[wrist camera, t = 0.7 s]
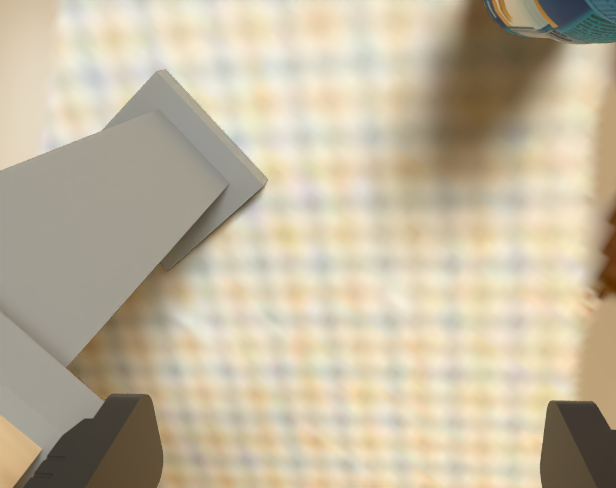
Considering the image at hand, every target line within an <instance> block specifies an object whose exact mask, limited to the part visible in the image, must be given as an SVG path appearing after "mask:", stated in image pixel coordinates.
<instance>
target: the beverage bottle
mask: <svg viewBox="0 0 616 488" xmlns="http://www.w3.org/2000/svg"><path fill="white" fill-rule="evenodd" d="M483 2H484V5H485V7H486V10H487V11H488V13H489V15H490V16H491V18H492V19H493V20H494V21H495V23H496V24H497V25H499V26H500V27H501V28H502V29H504V30H505V31H507V32H509V33H511V34H513V35H516V36H520V37H526V38H550V39H553V40H556V41H559V42H563V43H568V44H592V43H612V42H616V0H483Z"/></svg>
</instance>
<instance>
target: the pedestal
mask: <svg viewBox="0 0 616 488" xmlns="http://www.w3.org/2000/svg"><path fill="white" fill-rule="evenodd" d="M267 180H268V179H267V178H266V177H265V176H264V174H263V173H262V172H261V171H260V170H259V169H258V168H257V167H256V166H255V165H254V164H253V163H252V162H251V160H250V159H249V158H248V157H247V156H246V155H245V154H244V153H243V152H242V151H241V150H240V149H239V148H238V146H237V145H236V144H235V143H234V142H233V141H232V140H231V139H230V138H229V137H228V136H227V135H226V134H225V133H224V131H223V130H222V129H221V128H220V127H219V126H218V125H217V124H216V123H215V122H214V121H213V120H212V119H211V117H210V116H209V115H208V114H207V113H206V112H205V111H204V110H203V109H202V108H201V107H200V106H199V105H198V103H197V102H196V101H195V100H194V99H193V98H192V97H191V96H190V95H189V94H188V93H187V92H186V91H185V89H184V88H183V87H182V86H181V85H180V84H179V83H178V82H177V81H176V80H175V79H174V78H173V77H172V76H171V74H170V73H169V72H168V71H167V70H166V69H164V70H160V71H156V72H155V73H154V75H153V76H152V77H151V78H150V79H149V80H148V81H147V82H146V83H145V84H144V85H143V86H142V88H141V89H140V90H139V91H138V92H137V93H136V94H135V95H134V96H133V97H132V98H131V99H130V101H129V102H128V103H127V104H126V105H125V106H124V107H123V108H122V109H121V110H120V111H119V113H118V114H117V115H116V116H115V117H114V118H113V119H112V120H111V121H110V122H109V123H108V124H107V126H106V127H105V128H104V129H103V130H102V131H100V132H98V133H95V134H93V135H90V136H88V137H85V138H83V139H80V140H78V141H75V142H72V143H70V144H67V145H65V146H62V147H60V148H57V149H55V150H52V151H50V152H47V153H44V154H42V155H39V156H37V157H34V158H32V159H29V160H27V161H24V162H22V163H19V164H17V165H14V166H11V167H9V168H6V169H4V170H1V171H0V415H1V416H2V417H4V418H5V419H6V420H7V421H9V422H10V423H11V424H12V425H14V426H15V427H16V428H17V429H18V430H20V431H21V432H22V433H23V434H25V435H26V436H27V437H28V438H29V439H31V440H32V441H33V442H34V443H36V444H37V445H38V446H39V447H40V448H42V450H41V452H40V453H39V454H38V456H37V457H36V458H35V459H34V461H33V462H32V463H31V465H30V466H29V467H28V469H27V470H26V471H25V472H24V474H23V475H22V476H21V478H20V479H19V480H18V482H17V483H16V484H15V485H14V487H13V488H23V487H24V486H25V484H26V483H27V482H28V480H29V479H30V478H31V477H34V472H35V471H36V470H37V468H38V467H39V466H40V464H41V463H42V462H43V460H46V459H47V455H48V454H49V452H50V451H51V450H52V448H53V447H54V446H55V444H56V443H57V442H58V440H59V439H60V438H61V436H62V435H63V434H65V433H66V432H67V431H69V430H70V429H71V428H73V427H74V426H75V425H77V424H78V423H79V422H80V421H82V420H83V419H84V418H92V419H93V418H94V416H95V415H96V413H97V412H98V410H99V409H100V408H101V406H102V405H103V403H104V401H103V400H102V399H101V398H100V397H98V396H97V395H96V394H95V393H94V392H93V391H92V390H90V389H89V388H88V387H87V386H86V385H85V384H83V383H82V382H81V381H80V380H79V379H78V378H77V377H75V376H74V375H73V374H72V373H71V372H70V371H68V370H67V369H66V367H67V366H68V365H69V364H70V363H71V362H72V361H73V360H74V358H75V357H76V356H77V355H78V354H79V353H80V352H81V351H82V349H83V348H84V347H85V346H86V345H87V344H88V343H89V342H90V340H91V339H92V338H93V337H94V336H95V335H96V334H97V332H98V331H99V330H100V329H101V328H102V327H103V326H104V325H105V323H106V322H107V321H108V320H109V319H110V318H111V317H112V316H113V314H114V313H115V312H116V311H117V310H118V309H119V308H120V307H121V305H122V304H123V303H124V302H125V301H126V300H127V299H128V298H129V296H130V295H131V294H132V293H133V292H134V291H135V290H136V288H137V287H138V286H139V285H140V284H141V283H142V282H143V281H144V279H145V278H146V277H147V276H148V275H149V274H150V273H151V272H152V270H153V269H154V268H155V267H156V266H157V265H158V264H159V263H160V264H161V265H162V266H163V267H164V268H166V269H167V270H168V271H169V270H170V269H171V268H172V267H173V266H174V265H175V264H176V263H178V262H179V261H180V260H181V259H182V258H183V257H184V256H185V255H187V254H188V253H189V252H190V251H191V250H192V249H193V248H194V247H196V246H197V245H198V244H199V243H200V242H201V241H202V240H203V239H204V238H206V237H207V236H208V235H209V234H210V233H211V232H212V231H213V230H215V229H216V228H217V227H218V226H219V225H220V224H221V223H222V222H224V221H225V220H226V219H227V218H228V217H229V216H230V215H231V214H233V213H234V212H235V211H236V210H237V209H238V208H239V207H240V206H242V205H243V204H244V203H245V202H246V201H247V200H248V199H249V198H251V197H252V196H253V195H254V194H255V193H256V192H257V191H258V190H260V189H261V188H262V187H263V186H264V185H265V183H266V182H267Z"/></svg>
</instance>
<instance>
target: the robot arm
mask: <svg viewBox="0 0 616 488" xmlns="http://www.w3.org/2000/svg"><path fill="white" fill-rule="evenodd" d="M162 467H163V451H162V445H161V441H160V436H159V431H158V426H157V421H156V416H155V412H154V407H153V402H152V399H151V398H150V396H149V395H147V394H112V395H110V396H109V397H108V398H107V399H106V401H105V402H104V403H103V405H102V406H101V408H100V409H99V410H98V412H97V413H96V415H95V416H94V418H93V419H92V418H84V419H83V420H82V421H80V422H79V423H78V424H77V425H75V426H74V427H73V428H71V429H70V430H69V431H67V432H66V433H65V434H63V435H62V436H61V438H60V439H59V440H58V442H57V443H56V444H55V446H54V447H53V448H52V450H51V451H50V452H49V454H48V455H47V459H46V460H43V462H42V463H41V464H40V466H39V467H38V468H37V470H36V471H35V472H34V477H31V478H30V479H29V480H28V482H27V483H26V484H25V486H24V487H23V488H157V486H158V483H159V480H160V477H161V473H162ZM540 474H541V483H542V488H616V430H611V429H610V427H609V426H608V424H607V422H606V420H605V418H604V417H603V415H602V414H601V412H600V410H599V408H598V407H597V405H596V404H595V403H594V402H592V401H550V402H549V404H548V407H547V412H546V420H545V428H544V436H543V444H542V452H541V461H540Z"/></svg>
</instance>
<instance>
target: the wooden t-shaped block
mask: <svg viewBox="0 0 616 488" xmlns="http://www.w3.org/2000/svg"><path fill="white" fill-rule="evenodd" d="M41 450H42V448H40V447H39V446H38V445H37V444H36V443H34V442H33V441H32V440H31V439H29V438H28V437H27V436H26V435H25V434H23V433H22V432H21V431H20V430H18V429H17V428H16V427H15V426H14V425H12V424H11V423H10V422H9V421H7V420H6V419H5V418H4V417H2V416H1V415H0V488H13V487H14V485H15V484H16V483H17V482H18V480H19V479H20V478H21V476H22V475H23V474H24V472H25V471H26V470H27V469H28V467H29V466H30V465H31V463H32V462H33V461H34V459H35V458H36V457H37V456H38V454H39V453H40V452H41Z"/></svg>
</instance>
